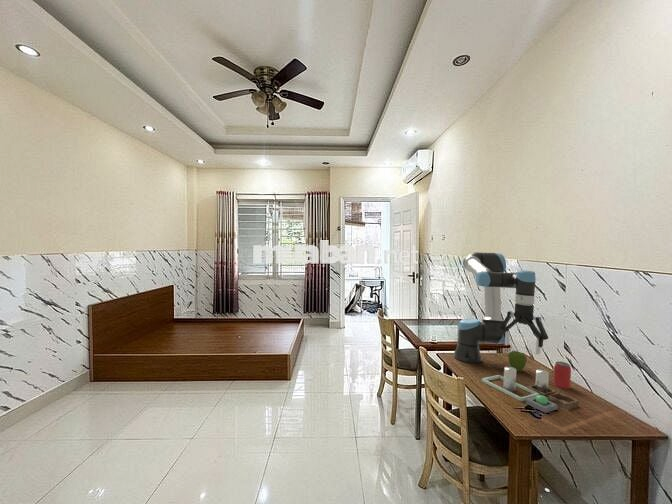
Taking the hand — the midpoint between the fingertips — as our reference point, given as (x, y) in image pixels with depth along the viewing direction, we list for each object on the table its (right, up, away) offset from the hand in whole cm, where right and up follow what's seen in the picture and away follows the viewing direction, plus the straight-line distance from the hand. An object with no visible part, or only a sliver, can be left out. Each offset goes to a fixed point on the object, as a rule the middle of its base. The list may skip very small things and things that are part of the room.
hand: (521, 349), depth 145 cm
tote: (-6, -20, 0) cm, 21 cm away
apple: (+11, -20, +24) cm, 33 cm away
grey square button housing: (-1, -20, -15) cm, 25 cm away
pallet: (+9, -20, -7) cm, 23 cm away
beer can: (+23, -21, +6) cm, 31 cm away
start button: (-1, -18, -15) cm, 24 cm away
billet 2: (+7, -19, -3) cm, 21 cm away
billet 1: (-6, -19, 0) cm, 20 cm away
